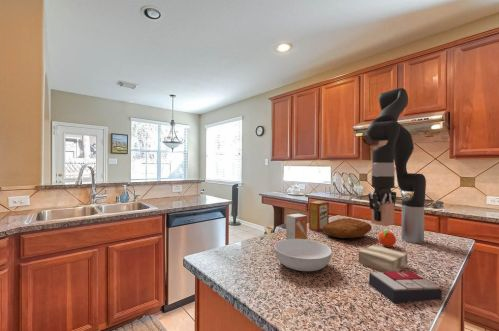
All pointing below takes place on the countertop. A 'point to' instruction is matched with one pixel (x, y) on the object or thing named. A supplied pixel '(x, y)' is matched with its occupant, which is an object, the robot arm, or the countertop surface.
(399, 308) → the countertop surface
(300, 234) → the small box
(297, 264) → the serving bowl
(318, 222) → the baking soda box
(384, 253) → the birch block
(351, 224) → the clay tablet
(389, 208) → the terracotta block
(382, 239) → the clementine
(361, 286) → the countertop surface
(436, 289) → the grey and red box
